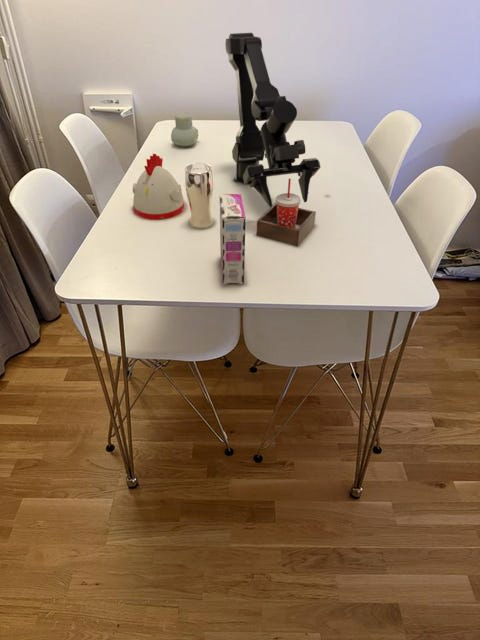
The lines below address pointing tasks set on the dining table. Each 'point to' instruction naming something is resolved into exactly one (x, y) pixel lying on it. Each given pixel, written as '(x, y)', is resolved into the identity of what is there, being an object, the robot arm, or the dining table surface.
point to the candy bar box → (232, 238)
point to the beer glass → (199, 194)
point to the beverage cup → (287, 208)
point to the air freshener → (184, 130)
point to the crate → (282, 232)
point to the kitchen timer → (157, 192)
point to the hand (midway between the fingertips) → (288, 204)
